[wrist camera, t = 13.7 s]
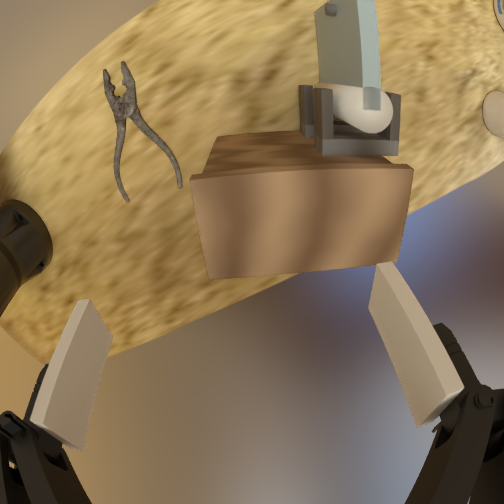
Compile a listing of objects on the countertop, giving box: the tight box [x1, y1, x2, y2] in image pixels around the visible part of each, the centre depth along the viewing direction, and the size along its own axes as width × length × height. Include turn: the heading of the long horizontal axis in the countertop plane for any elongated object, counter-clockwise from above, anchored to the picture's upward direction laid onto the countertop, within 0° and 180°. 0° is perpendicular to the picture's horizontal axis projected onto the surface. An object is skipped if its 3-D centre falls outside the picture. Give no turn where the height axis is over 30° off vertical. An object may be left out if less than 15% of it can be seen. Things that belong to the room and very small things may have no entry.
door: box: [313, 0, 393, 133], centre depth 23 cm, size 4×14×14 cm, turn 5°
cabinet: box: [189, 85, 414, 280], centre depth 28 cm, size 18×14×17 cm
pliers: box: [103, 61, 182, 202], centre depth 33 cm, size 10×1×20 cm
